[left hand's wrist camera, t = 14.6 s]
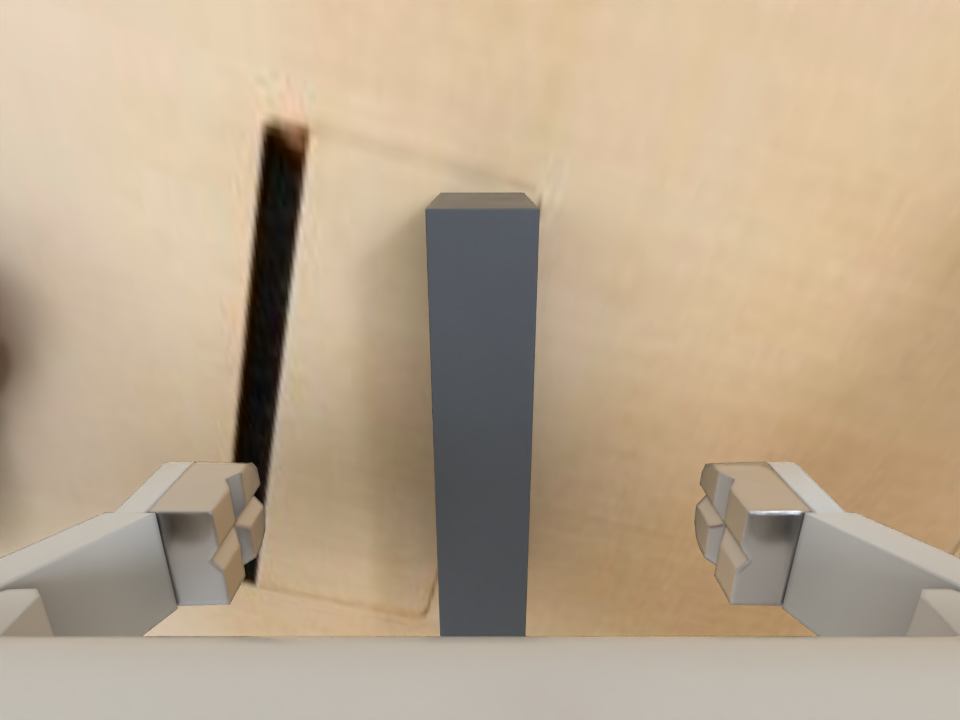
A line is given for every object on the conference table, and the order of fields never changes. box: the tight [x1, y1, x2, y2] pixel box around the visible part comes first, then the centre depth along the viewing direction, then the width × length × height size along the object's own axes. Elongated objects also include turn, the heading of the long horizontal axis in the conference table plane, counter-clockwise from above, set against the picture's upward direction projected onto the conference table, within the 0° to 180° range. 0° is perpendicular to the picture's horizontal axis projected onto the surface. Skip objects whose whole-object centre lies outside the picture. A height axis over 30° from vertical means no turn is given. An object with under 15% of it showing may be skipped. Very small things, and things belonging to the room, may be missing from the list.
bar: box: [425, 193, 540, 636], centre depth 33 cm, size 27×5×9 cm, turn 0°
